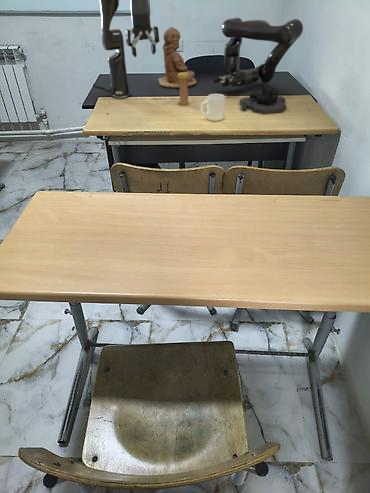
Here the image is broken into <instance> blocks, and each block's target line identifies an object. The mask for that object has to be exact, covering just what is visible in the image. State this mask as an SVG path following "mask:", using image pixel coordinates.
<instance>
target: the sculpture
mask: <svg viewBox="0 0 370 493" xmlns="http://www.w3.org/2000/svg"><path fill="white" fill-rule="evenodd" d="M163 40H164V44H163V45H162V50H163V61H164V71H165V73H164V75H165V76H163V77H159V78H158V79H157V80H158V84H159V86H161V87H163V88H168V89H169V88H180V87H179V78H178V73H181V72H187V73H188V74H189V77H188V87H192V86H194V85H196V83H197V82H198V81H197V79H195V76H196V74H195V72H194V71H192V70H188V66H187V65H186V64H185V60H184V58H183V57H182V56H183V55H180V53H179V52H178V51H177V50H178V49H179V46H180V40H181V33H180V32H179V30H178V29H177V28H174V27H168V28H167V29H166V30H165V31H164V33H163Z"/></svg>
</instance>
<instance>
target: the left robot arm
mask: <svg viewBox="0 0 370 493" xmlns="http://www.w3.org/2000/svg"><path fill="white" fill-rule="evenodd" d="M99 5H100V18H101V19H100V20H101V25H100V26H101V43H102V47H103V49H104V50H105V51H115V52H114V54H112V55H110V56H109V57H108V58H107V64H108V70H109V75H110V88H109V89H108V88H106V87H104V86H99V85H97V84H96V83H95V82H94V83H93V84H92V86H94V87H96V88H99V89H104V90H105V91H107V92H110V91H112V97H113V98H114V99H125V98H128V97H130V90H129V89H130V88H129V82H128V81H129V79H128V74H127V66H126V65H127V64H126V55H125V54H126V53H125V42H126V46H128V47H131V55H132V56H133V57H134V58H137V56H138V54H137V47H136V46H137V43H139V41H143V40H146V41H147V40H148V41H149V42H150V48H151V49H150V50H151V54H152V55H156V52H157V48H156V46H157V44H158V43H160V34H159V27H158V26H156V25H153V26H151V14H150V12H151V11H150V10H151V9H150V2H149V0H130V16H131V25H132V28H131V29H129V28H126V29H125V40H124V35H123V32H122V30H121V29H119V28H116V29H115V28H114V29H111V23H112V20H113V18H114V17H115V14H116V13H117V11H118V8H119V6H120V0H99ZM151 33H153V36H154V38H153V37H152V35H151ZM132 34H133V38H131V36H132ZM131 39H132V40H131ZM124 41H125V42H124Z"/></svg>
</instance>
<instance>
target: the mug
mask: <svg viewBox="0 0 370 493" xmlns="http://www.w3.org/2000/svg"><path fill="white" fill-rule="evenodd" d="M206 98H207V99H204V100H203V101H202V102H201V103H200V104H199V111H200V113H201V115H203V116H206V118H207V119H208V120H209V121H213V122H218V121H222V120H223V119H224V118H225V103H226V102H225V101H226V96H225V94H222V93H209V94H208V95H207V96H206ZM204 105H206V106H207V107H206V112H205V111H204V108H203V107H204Z"/></svg>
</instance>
